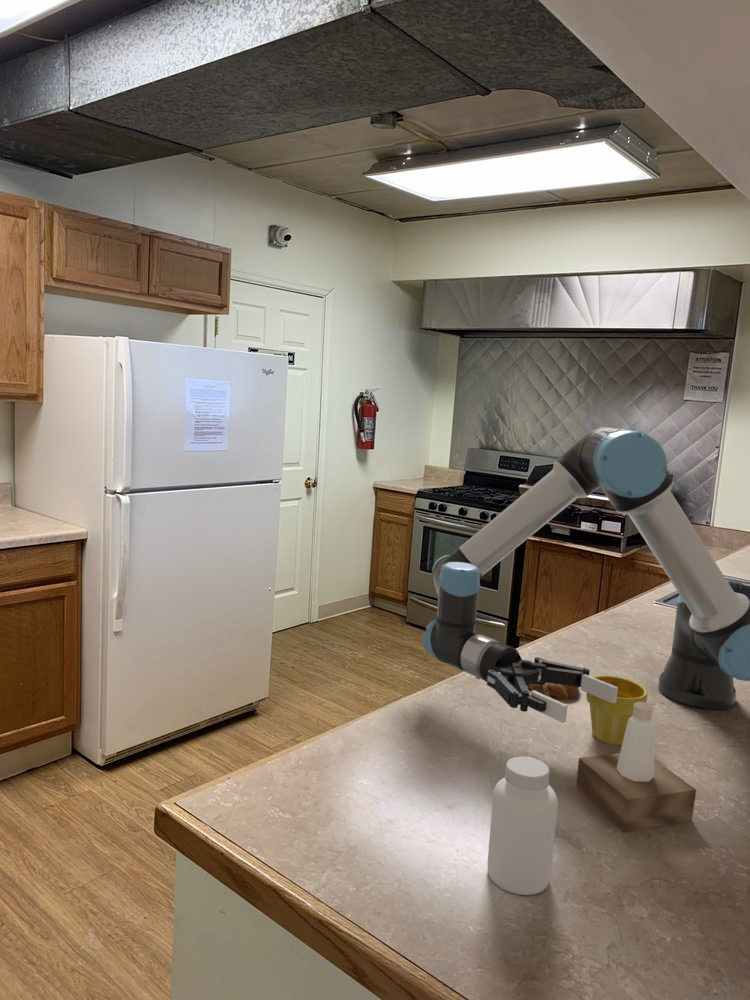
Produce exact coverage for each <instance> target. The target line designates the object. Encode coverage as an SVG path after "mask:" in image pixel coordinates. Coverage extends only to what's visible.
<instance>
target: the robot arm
mask: <svg viewBox="0 0 750 1000" xmlns="http://www.w3.org/2000/svg"><path fill="white" fill-rule="evenodd" d="M674 481H675V480H674V478H673V476H672V475H671V472H669V470H668V459H667V455H666V452H665V450H664V448H663V447H662V445H661V444H660V443H659V442H658V441H657V440H656V439H655V438H654V437H652V436H650V435H649V434H647V433H645V432H643V431H641V430H637V429H635V428H634V429H633V428H619V427H615V426H604V427H599V428H597V429H593V430H592V431H589V432H588V433H586V434H585V435H584V436H582V437H581V438H580V439H579V440H578V441H576V442H575V444H573V445H572V446H571V447H569V449H567V450H566V451H565V452H564V453H563V454H561V456H560V457H558V458H557V459H556V460H555V461H554V462H553V466H552V470H550V471H549V472H548V473H547V474H546V475H544V476H543V477H542V478H541V479H540V480H538V481H537V482H536V483H534V485H532V487H530V488H529V489H528V490H527V491H525V492H524V493H523V494H521V495H520V497H518V498H517V499H515V501H513V502H512V503H511V504H509V505H508V506H507V507H506V508H505V509H503V510H502V511H501V512H500V513H499V514H498V515H497V516H495V517H494V518H493V519H492V520H490V521H489V522H488V523H486V525H485V526H483V527H482V528H481V529H479V530H478V531H477V532H476V533H475V534H474V535H472V536H471V537H470V538H469V539H468V540H467V541H465V542H464V543H463V544H462V545H461V546H459V547H458V548H457V549H455V550H454V551H453V552H452V553H450V554H449V555H448V554H446V555H442V556H440V557H439V558H438V559H437V560H435V562H434V564H433V566H432V570H431V580H432V584H433V586H434V587H435V591H436V595H437V609H436V611H437V613H436V619H433V620H432V621H430V622H429V623H428V624H427V626H426V627H425V629H426V630H425V631H424V632H423V634H422V640H421V641H422V646H423V648H424V651H425V652H426V653H427V654H428V655H430V656H431V657H433V658H435V659H436V660H437V661H440V662H441V663H444V664H447V665H450V666H452V667H454V668H457V669H459V670H461V671H463V672H465V673H467V674H469V675H470V676H471V675H472V676H474V677H475V678H476V680H482V681H483V682H486V685H487V686H488V687H489V688H492V689H493V690H494V691H495V692H496V693H497V694H498V695H499V697H501V698H502V699H503V700H504V702H505V703H506V704H507V705H508V706H509V707H510V708H512V709H517V708H518V706H519V711H520V712H524V713H525V712H528V709H529V708H530V709H532V710H535V711H537V712H538V713H541V714H543V715H544V716H547V717H549V718H552V719H553V720H555V721H558V722H559V723H562V724H564V723H567V715H568V707H569V706H568V704H565V703H564V702H561V701H559V700H558V699H555V698H551V697H548V696H546V695H543V694H541V693H539V692H537V691H533V690H530V689H529V688H528V685H530V684H539V685H544V684H545V683H553V684H560V685H568V686H575V687H579V688H580V691H583V692H585V693H586V694H587V693H589V694H592V695H594V696H596V697H599V698H601V699H604V700H606V701H608V702H611V703H613V704H614V703H616V699H617V691H618V687H616V686H614V685H611V684H609V683H606V682H604V681H601V680H599V679H596V678H593V677H594V676H591V675H590V672H591V670H590V668H586V667H580V666H575V665H570V664H566V663H562V662H557V661H552V660H547V659H544V658H541V657H534V661H533V662H532V661H531V660H527V659H523V658H522V657H521V655H520V653H519V651H518V650H517V649H516V648H515V647H512V646H510V645H508V644H506V643H502V642H500V641H498V640H496V639H494V638H491V637H489V636H485V635H483V634H480V633H478V632H476V624H477V614H478V613H477V611H478V603H479V593H480V592H479V591H480V588H481V583H480V579H481V578H482V577H483V576H484V575H485V574H486V573H488V572H489V571H490V570H491V569H492V568H494V567H495V566H496V565H497V564H499V562H501V561H502V560H503V559H505V558H506V557H507V556H508V555H509V554H511V553H512V552H514V550H515V549H517V548H518V547H520V545H522V544H523V543H524V542H525V541H527V540H528V539H530V537H531V536H534V534H535V533H537V532H538V531H539V530H540V529H541V528H542V527H544V526H545V525H547V524H548V523H549V522H550V521H551V520H552V519H553V518H555V517H557V515H558V514H560V513H561V512H562V511H564V510H565V509H566V508H567V507H568V506H570V505H571V504H572V503H573V502H575V501H576V500H577V499H586V498H588V497H589V495H591V494H592V493H593V492H595V491H597V490H599V489H601V490H602V491H603V493H604V494H605V496H606V498H607V499H608V501H609V502H610V504H611V505H612V507H613V508H614V510H615V512H617V513H618V514H619V513H620V514H624V515H628V516H629V518H630V520H631V521H632V522H633V525H634V526H635V527H636V529H637V530H638V532H639V533H640V535H641V536H642V538H643V539H644V541H645V543H646V544H647V546H648V548H649V549H650V551H651V553H652V554H653V556H654V557H655V559H656V560H657V561H658V563H659V565H660V566H661V568H662V569H663V571H664V572H665V574H666V575H667V577H668V579H669V580H670V581H671V583H672V585H673V586H674V588H675V589H676V592H678V600H677V602H676V611H675V612H676V614H675V622H674V628H673V629H674V630H673V637H672V646H671V647H672V648H671V653H670V656H669V658H668V660H667V662H666V664H665V667H664V668H663V669H664V670H663V672H661V673H660V675H659V678H658V679H659V680H658V687H657V688H658V690H659V691H660V693H661V694H662V695H663V696H665V697H667V698H669V699H671V700H672V701H675V702H677V703H680V704H683V705H687V706H690V707H694V708H699V709H706V710H726V709H730V708H732V707H734V706H735V704H736V699H737V690H736V688H735V685H734V684H735V683H734V679H735V680H739V681H742V682H743V681H745V682H750V599H749V597H748V595H745V594H743V593H739V592H735V591H734V590H733V587H731V585H730V583H729V582H728V580H727V578H726V576H725V575H724V574H723V572H722V571H721V568H719V565H718V564H717V563H716V561H715V560H714V557H712V555H711V553H710V551H709V550H708V548H707V546H706V545H705V543H704V541H702V539H701V536H699V534H698V531H696V529H695V527H694V526H693V525H692V523H691V521H690V520H689V518H688V516H687V514H685V512H684V510H683V508H682V507H681V505H680V504H679V503H678V501H677V499H676V498H675V496H674V495H673V492H672V488H673V485H674ZM539 674H541V679H538V678H539Z"/></svg>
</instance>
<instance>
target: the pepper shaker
mask: <svg viewBox="0 0 750 1000" xmlns="http://www.w3.org/2000/svg"><path fill="white" fill-rule="evenodd" d="M633 706H634V709H633V716H632V717H630V718H629V719H628V723H627V727H626V731H625V735H624V739H623V743H622V745H621V748H620V751H619V753H620V756H619V760H618V764H617V770H618V771H619V773H620V774H621V776H623V777H625V778H627V779H630V780H632V781H635V782H649V781H650V780H651V779H652V778H653V777H654V759H655V737H656V733H655V728H656V727H655V726H656V725H655V723H654V722H653V720H652V717H653V711H654V707H653V705H651V704H650V703H648V702H646V703H645V702H635V703H634V704H633Z"/></svg>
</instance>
